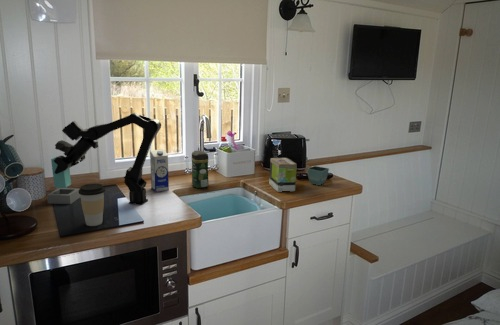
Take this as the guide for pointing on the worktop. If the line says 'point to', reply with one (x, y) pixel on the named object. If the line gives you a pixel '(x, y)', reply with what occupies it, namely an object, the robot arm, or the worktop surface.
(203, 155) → the coffee jar
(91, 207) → the coffee cup
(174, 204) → the worktop surface
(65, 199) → the socket block
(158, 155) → the milk carton
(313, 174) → the flower pot
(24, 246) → the worktop surface
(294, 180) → the tea box
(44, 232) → the worktop surface
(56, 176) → the teal peg
